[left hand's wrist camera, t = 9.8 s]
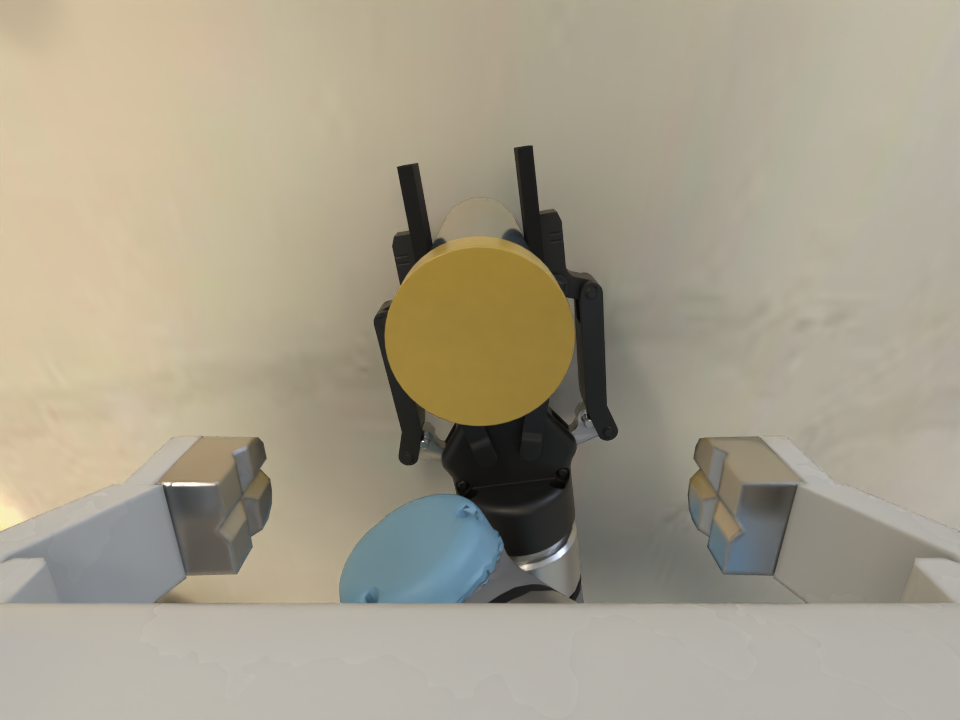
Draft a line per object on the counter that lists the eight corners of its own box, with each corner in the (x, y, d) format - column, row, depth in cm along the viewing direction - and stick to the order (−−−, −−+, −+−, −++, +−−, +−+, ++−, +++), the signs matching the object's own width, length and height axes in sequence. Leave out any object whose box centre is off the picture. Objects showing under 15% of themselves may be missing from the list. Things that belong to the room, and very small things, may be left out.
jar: (433, 206, 35) (379, 273, 16) (512, 190, 34) (549, 241, 16) (449, 283, 37) (418, 422, 18) (525, 269, 36) (571, 396, 18)
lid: (374, 254, 18) (362, 267, 16) (553, 220, 17) (562, 229, 15) (415, 412, 20) (409, 439, 18) (575, 384, 19) (585, 410, 18)
